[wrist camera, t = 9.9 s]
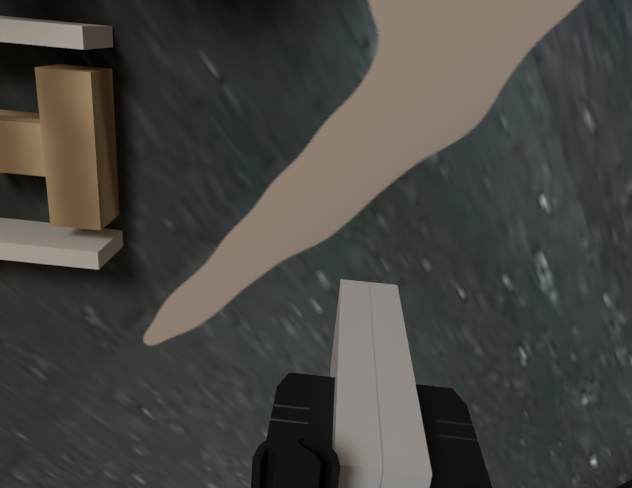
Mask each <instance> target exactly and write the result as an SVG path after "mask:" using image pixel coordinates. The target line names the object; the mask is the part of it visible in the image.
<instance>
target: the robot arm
mask: <svg viewBox="0 0 632 488" xmlns="http://www.w3.org/2000/svg"><path fill="white" fill-rule="evenodd" d="M251 488H492V485H491V482H490V479H489V476H488V473H487V469H486V466H485V463H484V460H483V456H482V453H481V450H480V447H479V444H478V442H477V437H476V434H475V431H474V427H473V426H472V421H471V418H470V415H469V411H468V408H467V405H466V404H465V403H464V401H463V400H462V399H461V398H460V397H459V396H458V395H457V393H456V392H455V391H454V390H453V389H452V388H444V387H435V386H426V385H416V384H415V379H414V373H413V368H412V362H411V357H410V352H409V346H408V341H407V335H406V330H405V325H404V319H403V314H402V308H401V303H400V298H399V292H398V287H397V285H391V284H381V283H371V282H362V281H352V280H342V279H341V281H340V290H339V299H338V308H337V316H336V325H335V334H334V343H333V352H332V360H331V372H330V377H326V376H316V375H307V374H297V373H289V374H288V375H287V376H286V377H285V378H284V379H283V380H282V381H281V383H280V384H279V385H278V386H277V389H276V394H275V399H274V405H273V409H272V414H271V421H270V424H269V429H268V434H267V439H266V441H265V442H263V443H262V444H261V445H259V446H258V448H257V450H256V452H255V454H254V456H253V463H252V481H251ZM616 488H632V480H630V481H628V482H626V483H624V484H622V485H620V486H618V487H616Z"/></svg>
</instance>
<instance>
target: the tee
mask: <svg viewBox="0 0 632 488" xmlns="http://www.w3.org/2000/svg"><path fill="white" fill-rule="evenodd" d="M35 76H36V86H37V96H38V106H39V113H31V112H21V111H10V110H0V172H3V173H13V174H24V175H34V176H45V177H46V185H47V194H48V204H49V214H50V224H51V226H60V227H70V228H81V229H91V230H102V229H103V228H104V227H105V226H107V225H108V224H109V223H110V222H111V221H112V220H114V219H115V218H116V217H117V216H118V215H120V213H119V194H118V174H117V155H116V135H115V116H114V96H113V77H112V69H111V68H100V67H90V66H79V65H69V64H56V65H48V66H41V67H35Z"/></svg>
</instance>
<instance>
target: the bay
mask: <svg viewBox="0 0 632 488" xmlns="http://www.w3.org/2000/svg"><path fill="white" fill-rule="evenodd" d="M0 42H7V43H18V44H28V45H39V46H49V47H60V48H70V49H81V50H87V49H98V48H110V47H113V32H112V26H105V25H94V24H83V23H73V22H62V21H51V20H41V19H30V18H19V17H9V16H0ZM122 247H123V232H122V230H115V229H105V228H103V229H102V230H91V229H81V228H70V227H60V226H51V224H50V223H46V222H36V221H26V220H17V219H7V218H0V260H10V261H19V262H29V263H39V264H48V265H58V266H68V267H77V268H87V269H97V270H99V269H100V268H101V267H102V266H103V265H104V264H105V263H106V262H107V261H108V260H109V259H110V258H112V257H113V256H114V255H115V254H116V253H117V252H118V251H119V250H120V249H121V248H122Z"/></svg>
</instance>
